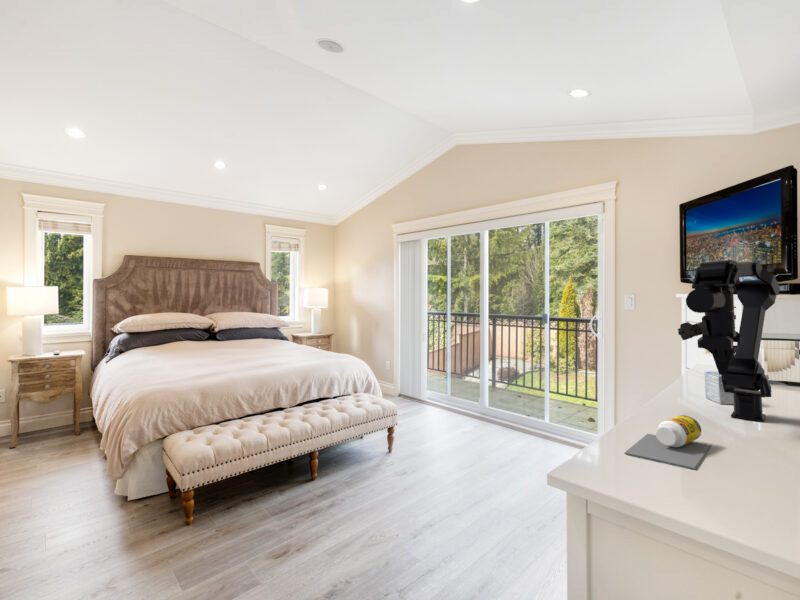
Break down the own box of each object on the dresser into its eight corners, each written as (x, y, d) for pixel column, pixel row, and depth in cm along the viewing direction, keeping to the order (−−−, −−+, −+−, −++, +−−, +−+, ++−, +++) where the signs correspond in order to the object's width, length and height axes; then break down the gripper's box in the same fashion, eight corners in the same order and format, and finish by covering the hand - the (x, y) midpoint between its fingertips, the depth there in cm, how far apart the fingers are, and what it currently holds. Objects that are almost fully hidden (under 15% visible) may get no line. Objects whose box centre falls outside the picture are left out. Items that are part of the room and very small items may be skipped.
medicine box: (736, 404, 118) (735, 375, 118) (719, 404, 119) (718, 375, 119) (721, 398, 126) (719, 371, 126) (705, 398, 127) (703, 371, 127)
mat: (647, 435, 95) (647, 433, 95) (710, 447, 86) (710, 445, 86) (624, 454, 84) (624, 452, 84) (694, 469, 75) (694, 467, 75)
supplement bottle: (708, 428, 87) (686, 438, 81) (691, 445, 89) (669, 455, 84) (684, 409, 90) (662, 417, 85) (669, 425, 93) (646, 434, 88)
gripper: (688, 310, 111) (691, 366, 111) (671, 313, 98) (673, 376, 98) (740, 310, 103) (743, 370, 103) (729, 312, 90) (732, 381, 90)
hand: (722, 374), depth 99 cm, fingers closed
